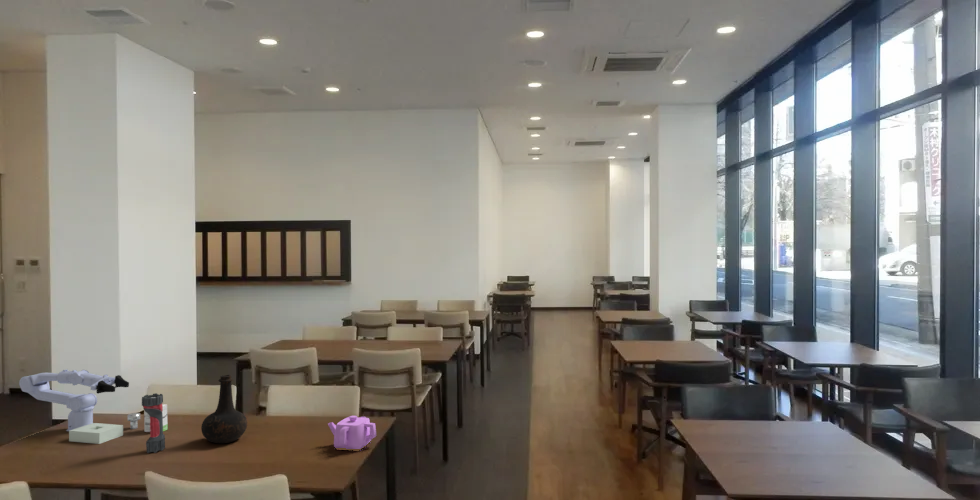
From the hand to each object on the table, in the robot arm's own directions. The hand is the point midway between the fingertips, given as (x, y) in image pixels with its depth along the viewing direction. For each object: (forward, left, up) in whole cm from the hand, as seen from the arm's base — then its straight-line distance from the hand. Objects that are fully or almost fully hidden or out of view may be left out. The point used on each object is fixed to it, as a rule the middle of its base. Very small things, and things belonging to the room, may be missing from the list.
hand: (121, 387), depth 269 cm
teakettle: (+110, +7, -21) cm, 113 cm away
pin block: (-3, -10, -20) cm, 23 cm away
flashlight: (+35, -19, -20) cm, 45 cm away
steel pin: (+1, +6, -20) cm, 21 cm away
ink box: (+14, +5, -20) cm, 25 cm away
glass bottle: (+54, 0, -20) cm, 58 cm away
